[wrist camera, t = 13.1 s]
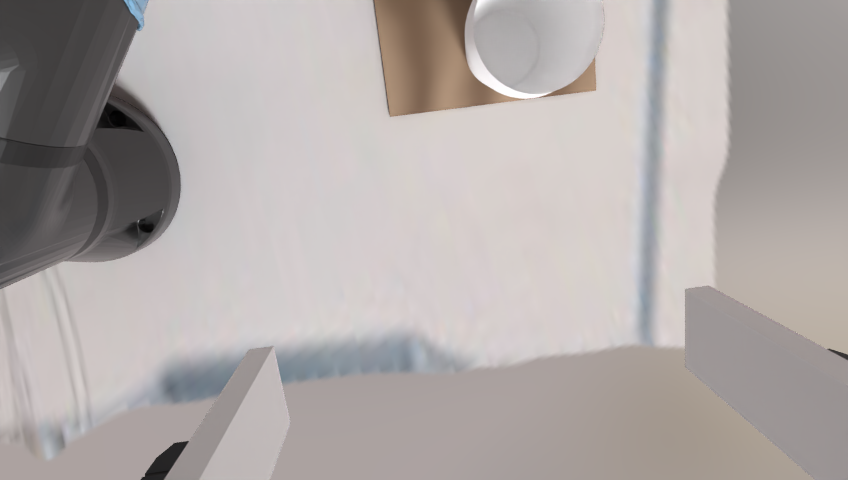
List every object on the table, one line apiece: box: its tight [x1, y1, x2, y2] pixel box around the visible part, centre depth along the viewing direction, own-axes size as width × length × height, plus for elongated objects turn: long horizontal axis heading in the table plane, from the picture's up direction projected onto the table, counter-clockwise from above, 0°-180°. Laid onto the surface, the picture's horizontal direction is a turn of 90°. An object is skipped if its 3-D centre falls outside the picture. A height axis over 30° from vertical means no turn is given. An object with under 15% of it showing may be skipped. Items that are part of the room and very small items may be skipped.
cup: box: [465, 0, 604, 99], centre depth 38 cm, size 9×9×12 cm
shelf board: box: [374, 0, 596, 117], centre depth 42 cm, size 19×11×4 cm, turn 97°
